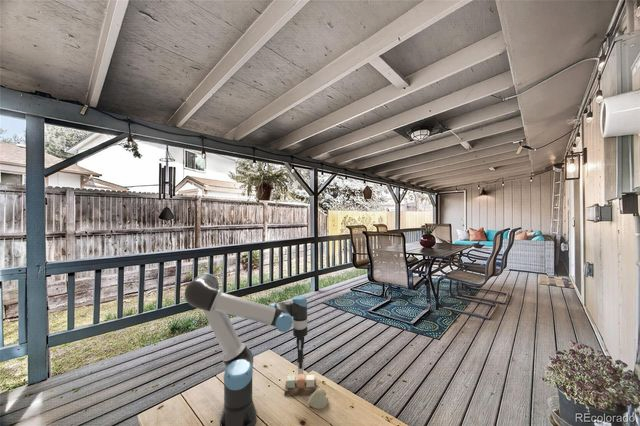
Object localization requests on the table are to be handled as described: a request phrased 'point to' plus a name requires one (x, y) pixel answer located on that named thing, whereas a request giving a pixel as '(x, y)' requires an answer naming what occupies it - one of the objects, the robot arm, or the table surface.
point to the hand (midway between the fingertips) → (300, 373)
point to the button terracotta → (300, 381)
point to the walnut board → (299, 389)
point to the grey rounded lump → (318, 399)
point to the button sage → (291, 381)
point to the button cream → (310, 380)
